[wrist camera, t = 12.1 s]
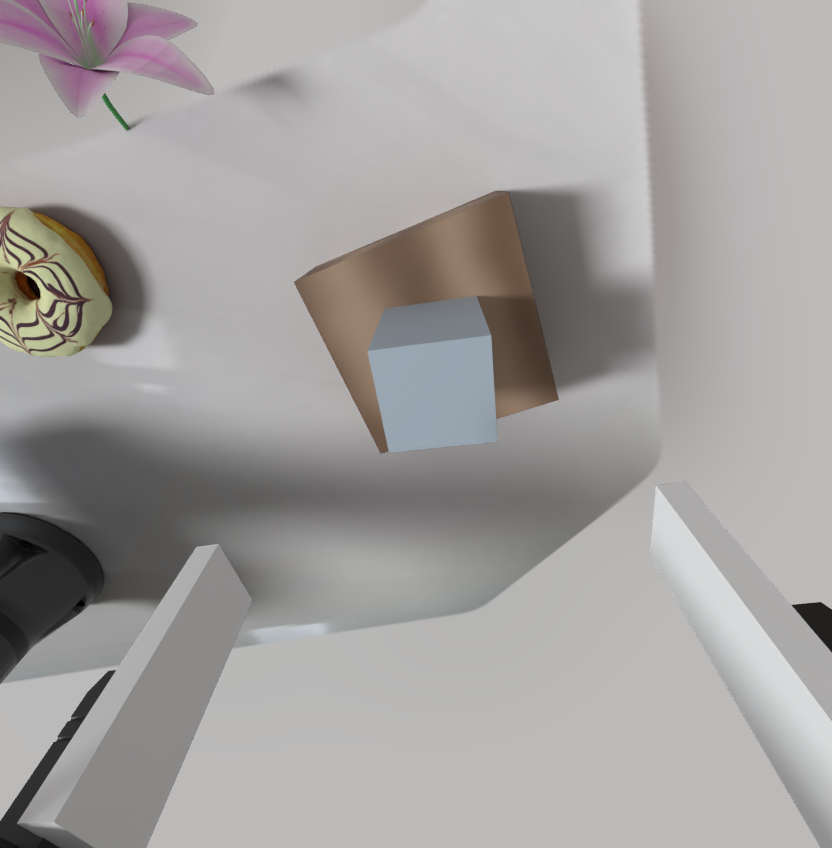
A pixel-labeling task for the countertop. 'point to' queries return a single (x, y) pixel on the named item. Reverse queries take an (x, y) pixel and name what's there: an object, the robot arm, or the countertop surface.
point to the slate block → (434, 375)
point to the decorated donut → (48, 286)
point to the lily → (100, 46)
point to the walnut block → (436, 281)
